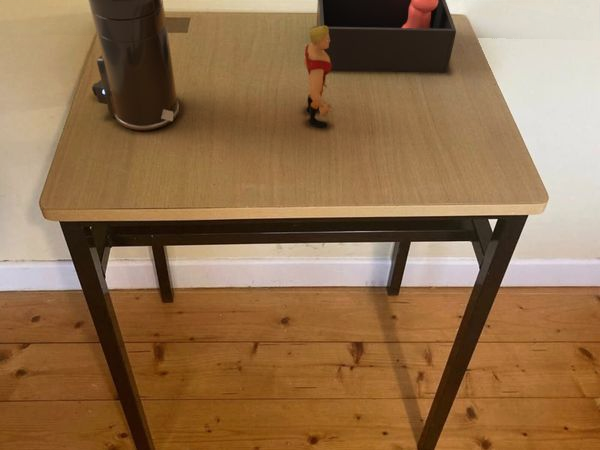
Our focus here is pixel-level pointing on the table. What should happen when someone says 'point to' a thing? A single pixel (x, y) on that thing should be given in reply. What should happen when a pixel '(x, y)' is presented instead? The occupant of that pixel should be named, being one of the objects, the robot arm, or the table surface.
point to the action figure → (317, 72)
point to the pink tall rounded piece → (420, 13)
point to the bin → (385, 36)
